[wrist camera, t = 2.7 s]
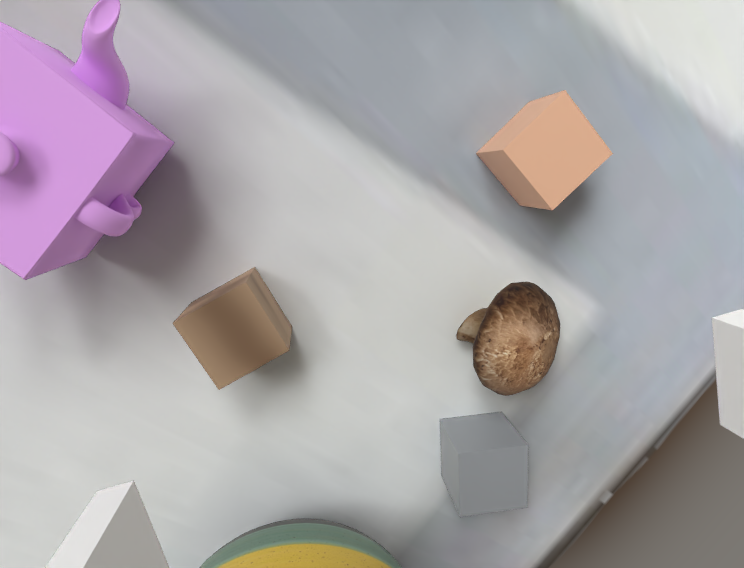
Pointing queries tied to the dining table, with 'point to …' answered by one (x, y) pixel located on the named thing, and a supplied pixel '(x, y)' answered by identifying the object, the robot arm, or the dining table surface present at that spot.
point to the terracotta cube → (545, 151)
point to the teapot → (68, 147)
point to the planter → (302, 548)
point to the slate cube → (484, 464)
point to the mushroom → (513, 338)
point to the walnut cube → (235, 328)
